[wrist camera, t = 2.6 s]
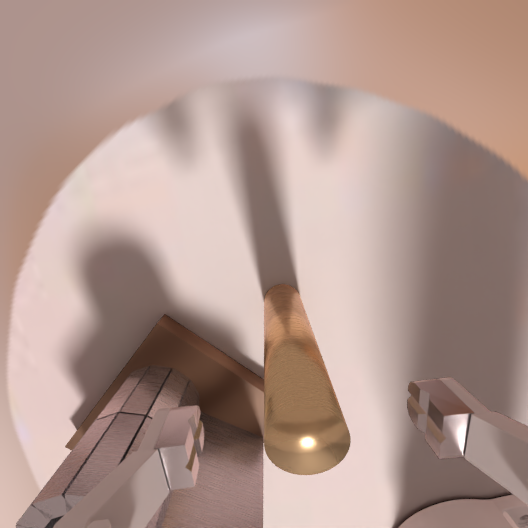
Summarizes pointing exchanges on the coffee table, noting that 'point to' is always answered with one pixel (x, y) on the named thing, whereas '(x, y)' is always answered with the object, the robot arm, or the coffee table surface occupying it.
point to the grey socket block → (129, 439)
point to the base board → (195, 378)
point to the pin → (298, 391)
